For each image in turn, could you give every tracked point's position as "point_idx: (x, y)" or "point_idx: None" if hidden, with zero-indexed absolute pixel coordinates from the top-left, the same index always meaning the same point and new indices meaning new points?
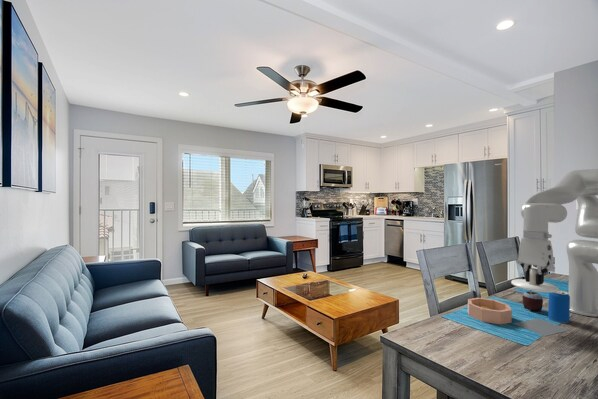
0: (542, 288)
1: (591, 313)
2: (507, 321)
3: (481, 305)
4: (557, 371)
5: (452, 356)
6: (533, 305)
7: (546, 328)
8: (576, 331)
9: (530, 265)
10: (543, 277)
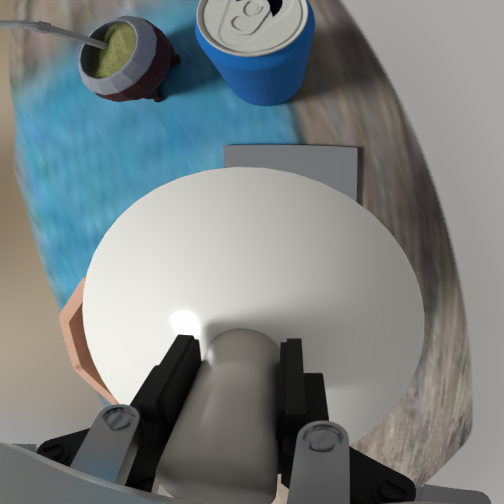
0: (347, 408)
1: None
2: None
3: None
4: (427, 435)
5: None
6: (154, 89)
7: None
8: (363, 123)
9: (117, 480)
10: (325, 408)
